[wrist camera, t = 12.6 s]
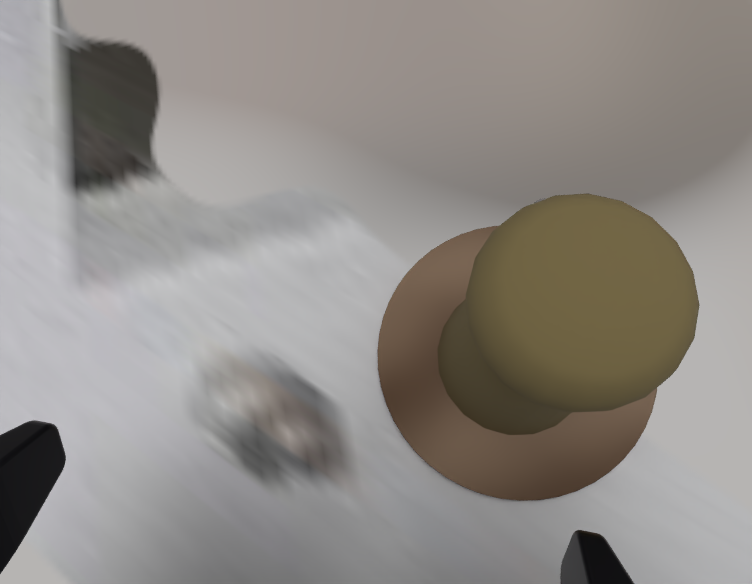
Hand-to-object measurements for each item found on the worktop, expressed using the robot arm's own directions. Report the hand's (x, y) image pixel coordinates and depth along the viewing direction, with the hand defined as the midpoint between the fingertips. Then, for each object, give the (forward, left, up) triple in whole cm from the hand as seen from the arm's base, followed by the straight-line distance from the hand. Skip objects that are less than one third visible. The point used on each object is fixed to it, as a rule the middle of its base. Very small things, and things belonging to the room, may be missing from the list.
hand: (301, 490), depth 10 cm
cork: (+1, -7, -13) cm, 15 cm away
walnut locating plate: (+1, -7, -14) cm, 15 cm away
